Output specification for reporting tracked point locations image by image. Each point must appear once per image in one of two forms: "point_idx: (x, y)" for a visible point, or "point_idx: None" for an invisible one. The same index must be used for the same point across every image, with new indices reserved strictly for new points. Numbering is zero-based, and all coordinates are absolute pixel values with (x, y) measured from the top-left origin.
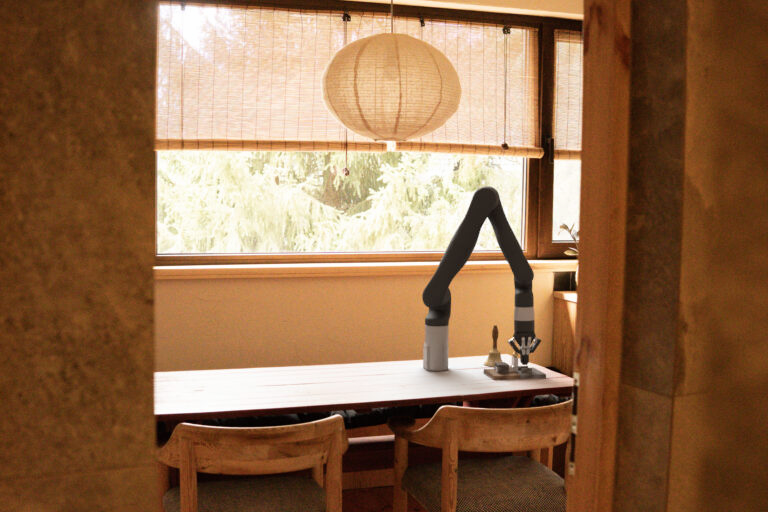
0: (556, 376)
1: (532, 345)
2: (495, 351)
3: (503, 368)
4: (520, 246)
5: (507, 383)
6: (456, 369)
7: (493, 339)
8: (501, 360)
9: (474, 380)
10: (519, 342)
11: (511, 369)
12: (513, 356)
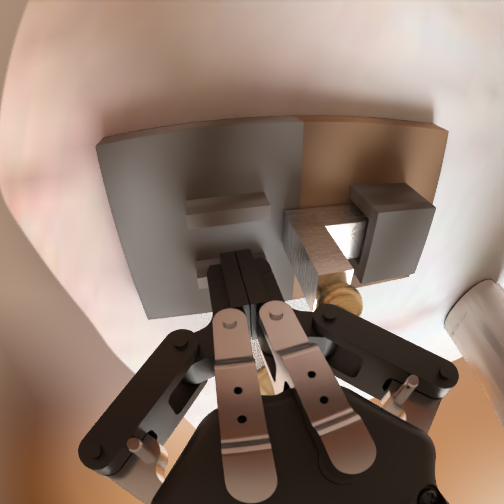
0: (36, 198)
1: (175, 414)
2: None
3: (398, 198)
4: None
5: (404, 36)
6: (437, 306)
7: None
8: (270, 390)
9: (488, 142)
10: (363, 404)
11: (334, 215)
12: (353, 287)
